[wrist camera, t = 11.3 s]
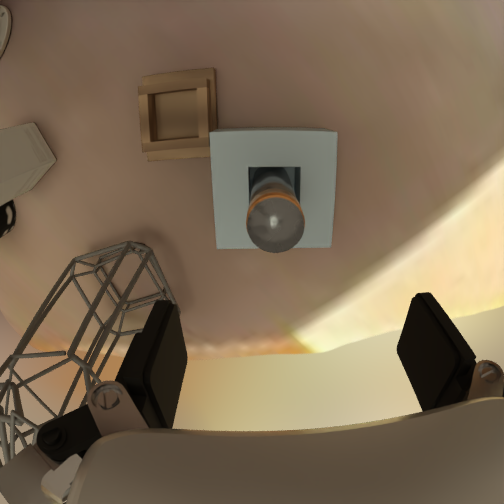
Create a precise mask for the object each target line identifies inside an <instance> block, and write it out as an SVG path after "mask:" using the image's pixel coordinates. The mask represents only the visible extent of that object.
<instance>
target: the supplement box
mask: <svg viewBox="0 0 504 504" xmlns="http://www.w3.org/2000/svg"><path fill="white" fill-rule="evenodd" d="M55 162H56V158H55V157H54V155H53V153H52V152H51V150H50V148H49V147H48V145H47V143H46V142H45V140H44V138H43V136H42V135H41V133H40V131H39V130H38V128H37V126H36V125H35V123H34V122H33V123H28V124H23V125H18V126H13V127H9V128H5V129H1V130H0V206H1V205H3V204H5V203H7V202H8V201H10V200H12V199H14V198H16V197H18V196H20V195H22V194H24V193H26V192H28V191H30V190H31V189H32V188H33V187H34V186H35V185H36V184H37V182H38V181H39V180H40V179H41V178H42V176H43V175H44V174H45V173H46V172H47V171H48V170H49V168H50V167H51V166H52V165H53V164H54V163H55Z"/></svg>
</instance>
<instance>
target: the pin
mask: <svg viewBox="0 0 504 504" xmlns="http://www.w3.org/2000/svg"><path fill="white" fill-rule="evenodd" d="M304 228H305V218H304V215H303V212H302V209H301V206H300V204H299V202H298V200H297V199H296V196H295V193H294V190H293V187H292V184H291V181H290V179H289V176H288V173H287V171H286V170H285V169H284V168H283V167H259V168H258V169H257V170H256V171H255V173H254V177H253V184H252V191H251V199H250V204H249V207H248V212H247V218H246V229H247V232H248V235H249V237H250V239H251V241H252V242H253V243H254V244H255V245H256V246H257V247H258V248H260V249H262V250H264V251H267V252H272V253H279V252H284V251H287V250H289V249H291V248H293V247H294V246H295V245H296V244H297V243H298V242H299V241H300V239H301V238H302V235H303V233H304Z"/></svg>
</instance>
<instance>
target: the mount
mask: <svg viewBox="0 0 504 504" xmlns="http://www.w3.org/2000/svg"><path fill="white" fill-rule="evenodd" d="M142 80H143V86H139V87H138V98H139V115H140V130H141V142H142V152H147V157H148V161H158V160H170V159H183V158H198V157H211V153H210V134H209V132H212V131H214V130H216V129H217V105H216V74H215V69H214V68H205V69H195V70H186V71H177V72H170V73H163V74H156V75H150V76H144V77H142Z"/></svg>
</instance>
